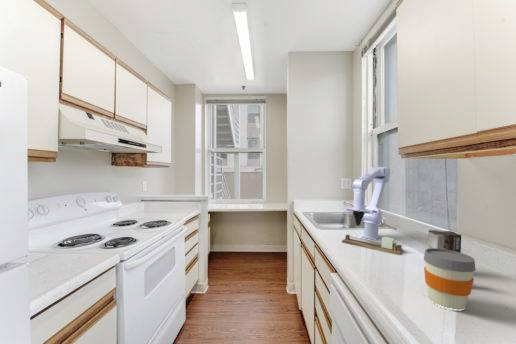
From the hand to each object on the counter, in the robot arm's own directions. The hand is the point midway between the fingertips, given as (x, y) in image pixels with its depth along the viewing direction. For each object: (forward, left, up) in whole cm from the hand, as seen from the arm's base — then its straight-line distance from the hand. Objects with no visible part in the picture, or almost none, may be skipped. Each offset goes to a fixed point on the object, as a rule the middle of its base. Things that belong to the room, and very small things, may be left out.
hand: (358, 225), depth 138 cm
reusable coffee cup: (+47, +41, -10) cm, 63 cm away
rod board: (+3, +8, -9) cm, 13 cm away
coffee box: (+17, +39, -10) cm, 44 cm away
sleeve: (+3, +16, -8) cm, 18 cm away
